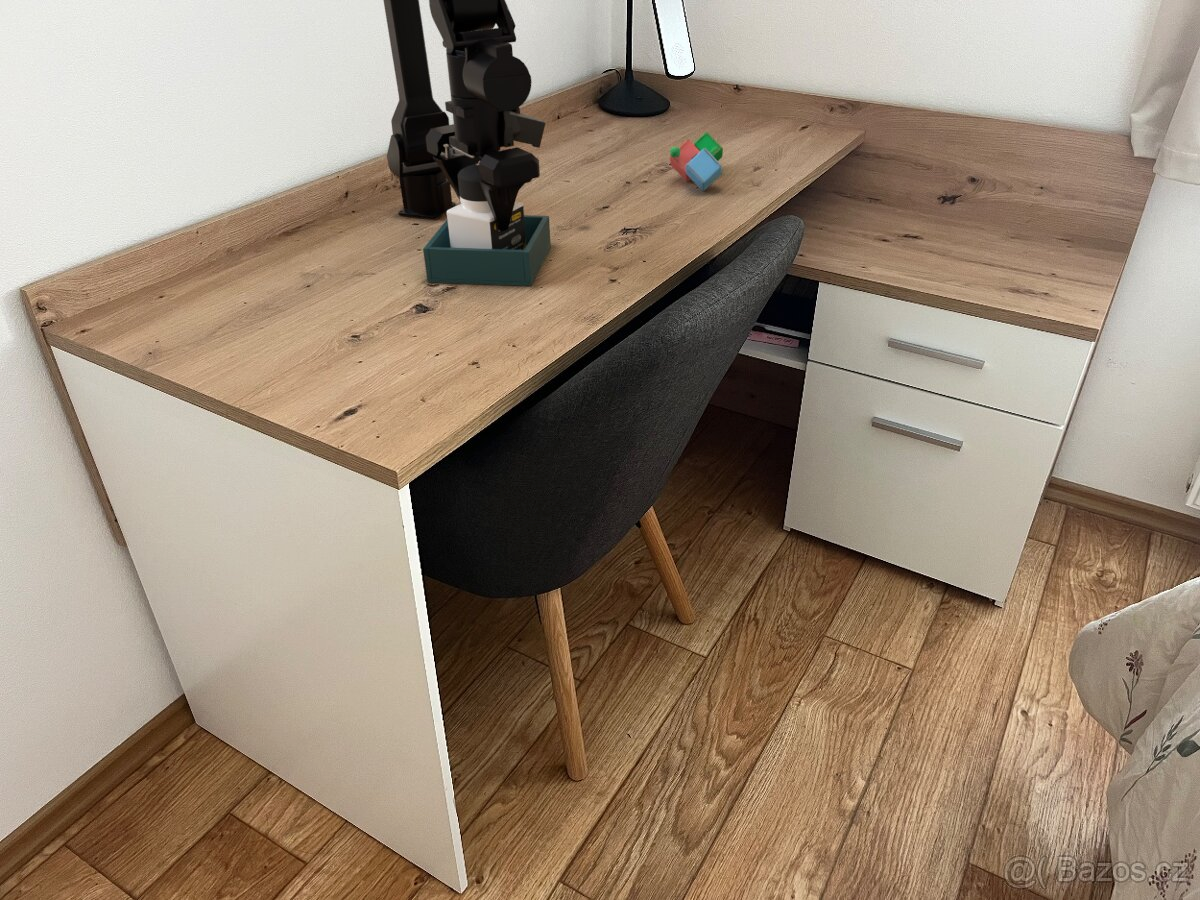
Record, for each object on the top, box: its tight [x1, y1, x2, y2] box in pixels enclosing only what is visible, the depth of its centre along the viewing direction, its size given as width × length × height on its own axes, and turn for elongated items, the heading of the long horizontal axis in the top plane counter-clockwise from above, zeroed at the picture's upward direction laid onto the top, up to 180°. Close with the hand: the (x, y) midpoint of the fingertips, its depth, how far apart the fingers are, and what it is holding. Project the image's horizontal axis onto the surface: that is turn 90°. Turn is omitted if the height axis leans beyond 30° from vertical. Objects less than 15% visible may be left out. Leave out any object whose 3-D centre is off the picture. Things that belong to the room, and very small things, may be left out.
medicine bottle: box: [446, 163, 526, 250], centre depth 119 cm, size 7×7×12 cm
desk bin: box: [422, 214, 552, 287], centre depth 122 cm, size 13×13×4 cm
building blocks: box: [669, 131, 724, 192], centre depth 148 cm, size 8×8×12 cm
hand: (486, 220), depth 120 cm, fingers closed on medicine bottle, 8 cm apart
